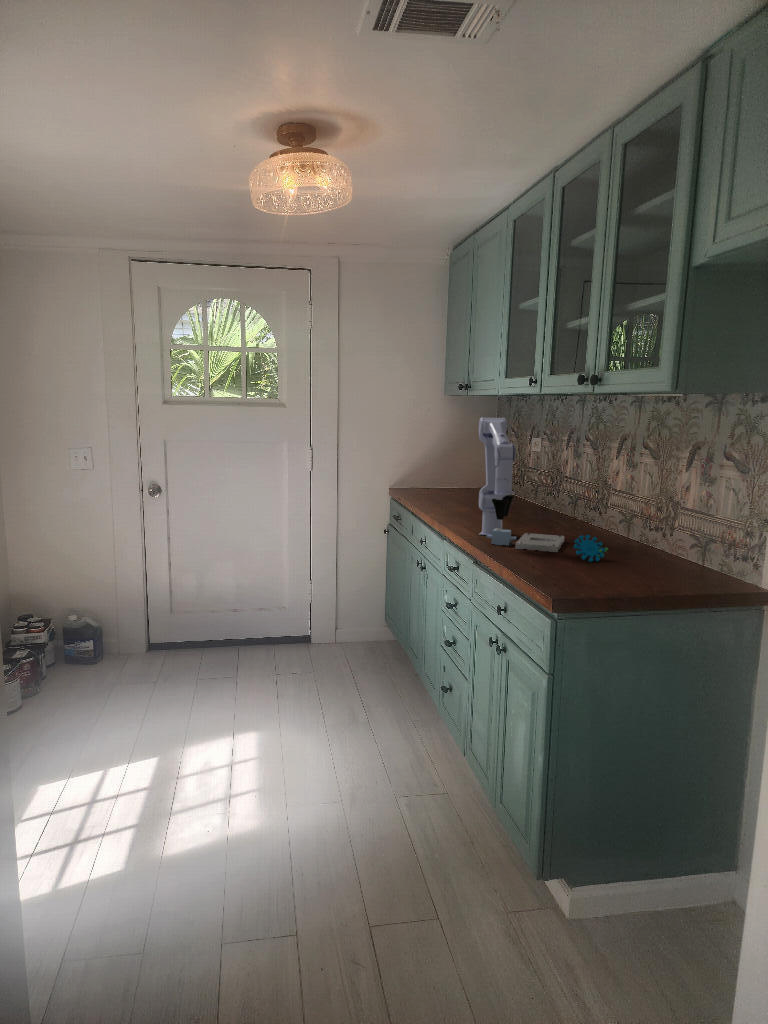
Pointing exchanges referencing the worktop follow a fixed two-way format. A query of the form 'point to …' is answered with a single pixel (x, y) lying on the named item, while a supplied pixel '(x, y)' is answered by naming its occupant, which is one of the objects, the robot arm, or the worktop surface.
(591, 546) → the gear
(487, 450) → the robot arm
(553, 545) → the plate
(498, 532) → the servo
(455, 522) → the worktop surface
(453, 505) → the worktop surface
